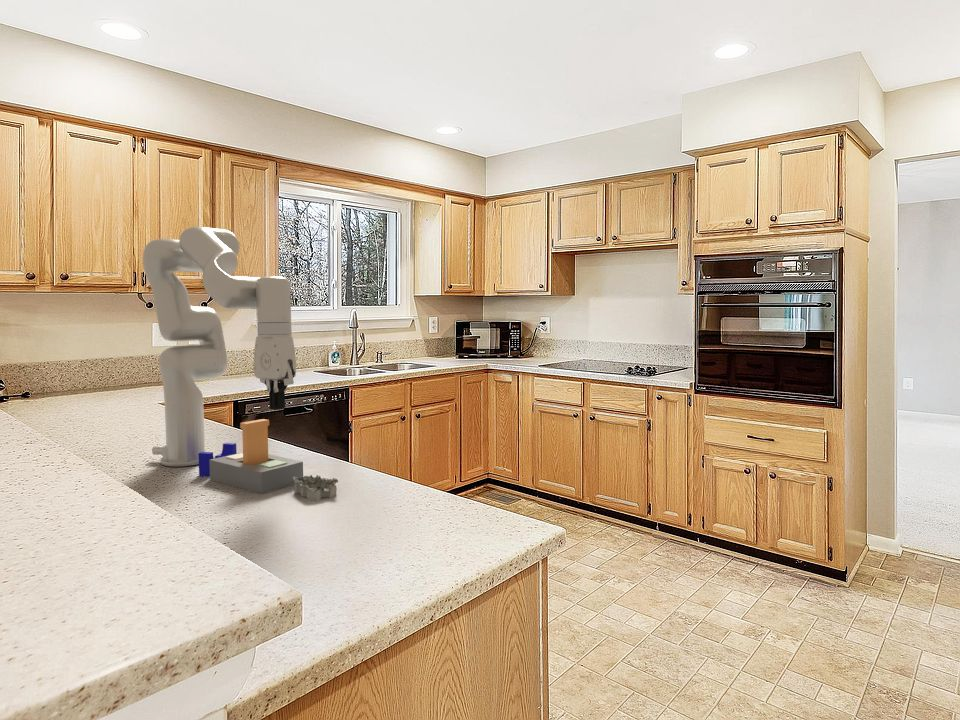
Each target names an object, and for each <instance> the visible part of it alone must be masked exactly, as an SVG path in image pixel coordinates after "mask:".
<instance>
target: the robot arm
mask: <svg viewBox="0 0 960 720" xmlns="http://www.w3.org/2000/svg"><path fill="white" fill-rule="evenodd" d="M239 253H240V242H239V239H238V238H237V236H236V235H235V234H234V233H233V231H232V232H231V231H230V230H228V229H224V228H214V227H206V226H205V227H204V226H190V227H188V228H186V229H184V230H183V231H182V232H181V234H180V235H179V238H178V239H177V238H157V239H153V240H151V241H148V243H147V244H146V246H145V247H144V249H143V252H142V266H143V270H144V274H145V277H146V280H147V281H148V284H149V286H150V288H151V291H152V294H153V295H152V296H153V300H154V301H153V303H154V306H155V312H156V313H155V314H156V318H157V324H158V328H159V333H160V336H161V337H162V338H163V339H164V340H165V341H168V342H196V341H197V342H199V344H195V345H194V344H192V345H191V344H190V345H189V344H187V345H175V346H172V347H167V348H166V349H164V350H163V351H162V352H161V353H160V355H159V358H158V368H159V372H160V376H161V381H162V387H163V397H164V398H163V400H164V402H163V403H164V421H165V427H164V428H165V445H164V446H153V447H152V448H151V452H152V455H156V456H158V455H161V456H162V457H161V458H160V460H159V461H160V462H159V463H160V465H162V466H165V467H176V468H177V467H193V466H196V465H197V466H199V456H198V453H200V452H206V446H205V445H206V444H205V415H204V397H203V392H202V391H201V390H200V388H199V387H198V386H197V384H196V383H195V381H199V380H206V379H207V380H208V379H215V378H219V377H222V376H223V375H224V374H225V373H226V372H227V369H228V353H227V348H226V343H225V337H224V331H223V330H224V329H223V327H222V321H221V318H220V316H219V314H218V313H217V311H216V310H214V309H213V308H211V307H209V306H193V305H192V304H191V303H190V297H189V296H190V295H189V292H188V288H187V287H186V285H185V284H184V282H183V281H182V280H181V279H180V278H179V277H178V276H177V275H176V274H175V272H181V273H182V272H184V273H199V274H200V273H202V274H201V275H202V276H201V277H202V284H203V288H204V290H205V292H206V293H207V294H208V296H209V297H210V298H211V299H213V301H215V302H216V303H217V304H218V305H219V306H221V307H223V308H226V309H230V310H236V309H237V310H244V309H245V310H247V309H248V310H249V309H250V310H256V320H257V323H256V326H257V335H256V338H255V342H254V350H253V351H254V354H253V373H254V374H253V375H254V377H255V378H256V379H258V380H259V382H260V383H262V384H264V385H265V386H266V390H267V391H266V392H268V400H269V405H268V406H269V409H270V410H273V411H275V410H283V409H285V408H286V396H285V395H286V393H285V392H287V387H288V386H290V385H293V384H294V378H295V377H296V374H297V358H296V350H295V343H294V339H293V334H292V329H293V328H292V307H291V306H292V304H291V299H292V298H291V284H290V281H289V279H288V278H287V277H283V276H261V277H256V276H255V277H253V276H239V275H238V276H234V275H233V274H234V273H235V271H236V270H237V268H238V264H239V263H238V261H239V260H238V255H239Z"/></svg>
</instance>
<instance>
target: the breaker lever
mask: <svg viewBox="0 0 960 720" xmlns="http://www.w3.org/2000/svg"><path fill="white" fill-rule="evenodd" d="M239 424H240V429H241V430H242V431H241V433H242V436H241V437H242V452H243V463H244V464H248V465H255V464H260V463H264V462H268V454H269V435H268V434H269V429H268V428H269V427H268V426H270V420H269V419H265V418H262V419H256V420H249V421H244V422H240V423H239Z"/></svg>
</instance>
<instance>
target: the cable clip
mask: <svg viewBox="0 0 960 720" xmlns="http://www.w3.org/2000/svg"><path fill="white" fill-rule="evenodd" d="M233 454H238V453H237V443H235V442H225V443H222V451H221V453H219V454H217V455H215V456H214V452H211V451H205V452H200V453H198V456H199V464H198V476H199V477H209V478H210V464H209V460H210V459H215V458H219V457H224V456H229V455H233Z"/></svg>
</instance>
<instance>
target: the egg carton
mask: <svg viewBox="0 0 960 720" xmlns="http://www.w3.org/2000/svg"><path fill="white" fill-rule="evenodd" d="M293 479H294V481H295V484H294V493H295V494H296V493H299V494H300V496H301V497H306V499H307V500H308V501H311V500H313V501H320V500H321V498H334V497H335V496H336V495H337V490H338V489H337V485H336V484H337V483H339V480H338V479H337V478H335V477H333V478H325V477H321V476H320V475H316V476H313V475H312V474H310V475H309V476H308V475H303V476H301V477H294V476H293ZM318 488H320V489H318Z"/></svg>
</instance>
